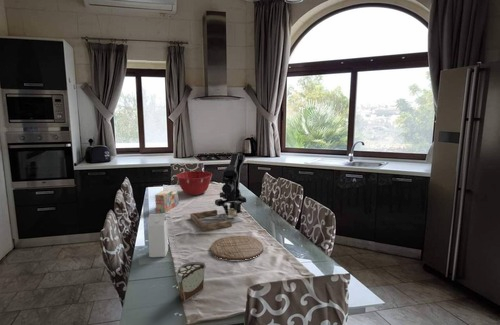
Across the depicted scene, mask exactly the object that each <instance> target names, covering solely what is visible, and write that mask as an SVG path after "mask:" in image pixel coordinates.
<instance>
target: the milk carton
mask: <svg viewBox="0 0 500 325" xmlns="http://www.w3.org/2000/svg"><path fill="white" fill-rule="evenodd" d="M168 234H169V233H168V219H167V217H166V213H153V214H151V213H150V214H148V221H147V236H148V252H149V253H148V255H149V258H162V257H163V258H165V257H166V256H167V253H168V252H169V241H168V240H169V238H168V236H169V235H168Z"/></svg>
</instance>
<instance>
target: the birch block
mask: <svg viewBox="0 0 500 325" xmlns="http://www.w3.org/2000/svg"><path fill="white" fill-rule="evenodd" d="M225 215H226V214H225ZM226 216H227V217H228V218H232V217H236V216H237V213H236V210H235V209H233V208H231V209H230V208H228V215H226Z"/></svg>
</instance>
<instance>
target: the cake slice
mask: <svg viewBox="0 0 500 325" xmlns="http://www.w3.org/2000/svg"><path fill="white" fill-rule="evenodd" d="M205 269H206V263H205V262H203V261H190V262H187V263H184V264H182V265H180V266H178V268H177V269H176V274H175V279H176V281H177V282H178V287H179V296H180V300H181V301H182V302H184V303H186V302H187V301H189V300H190V299H192V298H193V297H195V296H196V295H198V294H199V293H201V292H202V291H203V289H204V288H205V286H204V285H205ZM200 291H201V292H200ZM197 293H198V294H197Z"/></svg>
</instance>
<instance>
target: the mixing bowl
mask: <svg viewBox="0 0 500 325" xmlns="http://www.w3.org/2000/svg"><path fill="white" fill-rule="evenodd" d="M175 176H176V179H177V183H178V184H179V186H180V188H181V190H182V192H183V193H185V194H186V195H188V194H189V196H197V195H198V194H200V195H203V194H204V193H206V191H207V190H208V189H209V186H210V184H211V180H212V177H213V173H212V172H209V171H201V170H194V171H192V170H191V171H184V172H180V173H178V174H176V175H175ZM202 193H203V194H202ZM198 196H199V195H198Z"/></svg>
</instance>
